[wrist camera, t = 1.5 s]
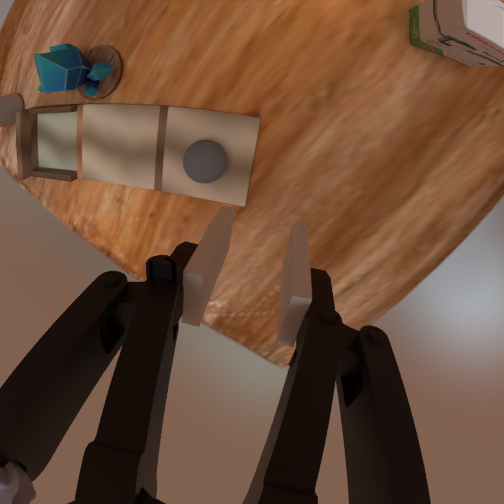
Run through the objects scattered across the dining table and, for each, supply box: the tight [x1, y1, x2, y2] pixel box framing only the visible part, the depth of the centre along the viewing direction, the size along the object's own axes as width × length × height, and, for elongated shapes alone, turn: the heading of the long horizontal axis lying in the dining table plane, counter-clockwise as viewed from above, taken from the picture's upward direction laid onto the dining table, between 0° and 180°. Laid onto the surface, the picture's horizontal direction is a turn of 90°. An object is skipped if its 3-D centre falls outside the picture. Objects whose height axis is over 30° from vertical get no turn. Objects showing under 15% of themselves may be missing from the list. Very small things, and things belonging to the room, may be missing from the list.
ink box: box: [410, 0, 504, 67], centre depth 15 cm, size 9×5×12 cm, turn 87°
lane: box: [16, 104, 261, 207], centre depth 30 cm, size 10×33×4 cm, turn 80°
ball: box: [183, 140, 228, 184], centre depth 28 cm, size 4×4×4 cm
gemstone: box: [34, 44, 123, 100], centre depth 22 cm, size 7×9×12 cm
